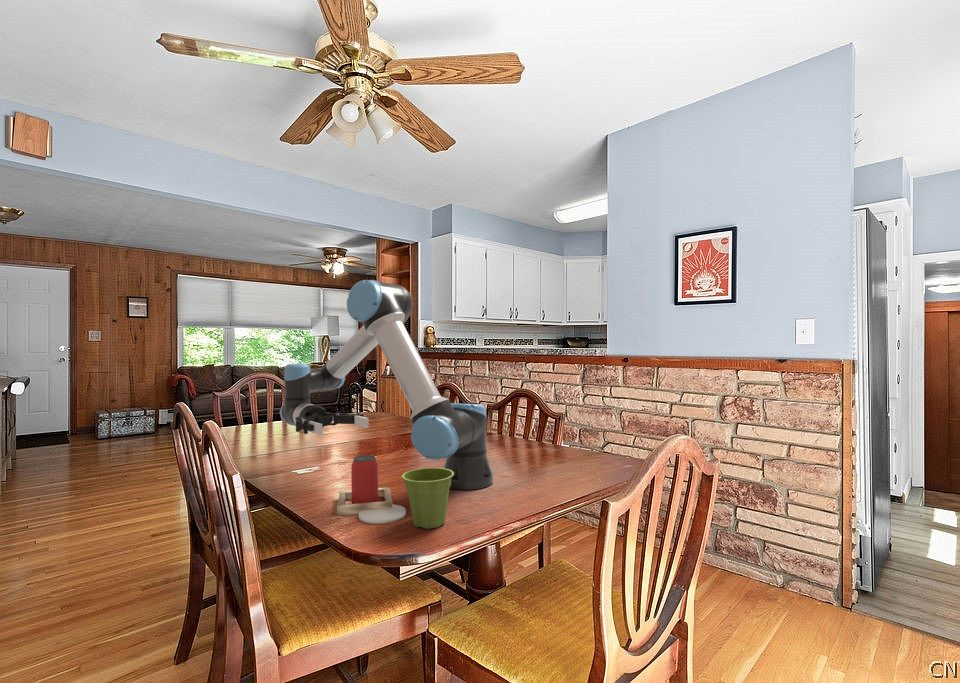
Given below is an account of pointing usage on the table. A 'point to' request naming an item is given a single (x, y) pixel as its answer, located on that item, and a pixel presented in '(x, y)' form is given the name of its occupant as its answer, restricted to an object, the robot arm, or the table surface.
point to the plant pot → (428, 495)
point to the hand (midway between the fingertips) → (345, 426)
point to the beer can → (364, 479)
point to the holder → (356, 508)
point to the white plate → (382, 515)
